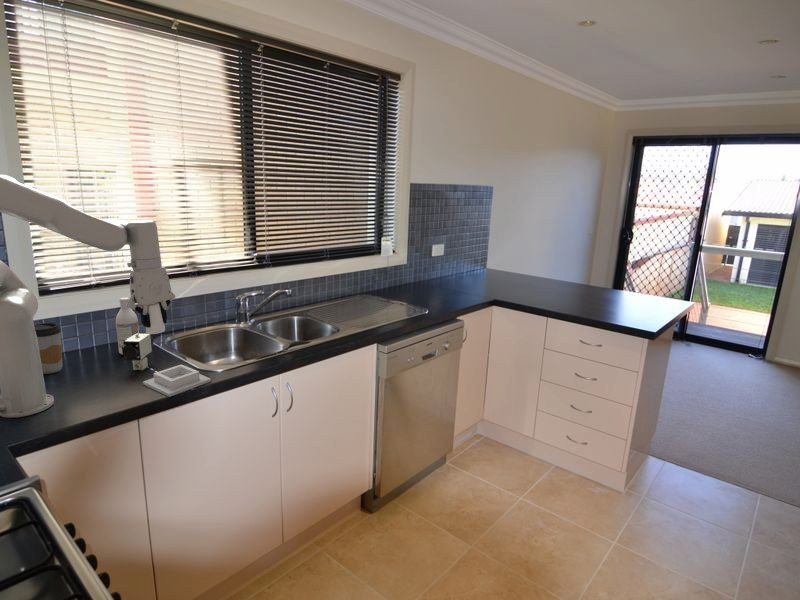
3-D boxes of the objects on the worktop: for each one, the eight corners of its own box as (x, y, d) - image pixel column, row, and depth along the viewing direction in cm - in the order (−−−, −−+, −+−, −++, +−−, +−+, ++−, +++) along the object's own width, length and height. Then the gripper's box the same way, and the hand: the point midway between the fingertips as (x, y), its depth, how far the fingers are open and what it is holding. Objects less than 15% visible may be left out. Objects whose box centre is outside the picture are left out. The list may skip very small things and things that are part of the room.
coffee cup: (58, 363, 164) (51, 320, 160) (71, 368, 160) (65, 325, 156) (30, 371, 157) (22, 326, 153) (43, 377, 153) (36, 331, 149)
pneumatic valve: (155, 361, 168) (152, 328, 165) (139, 375, 157) (135, 340, 154) (139, 361, 168) (136, 328, 165) (121, 375, 156) (117, 339, 153)
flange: (169, 396, 143) (168, 385, 142) (142, 384, 151) (141, 373, 150) (210, 381, 154) (210, 371, 153) (184, 370, 162) (183, 360, 161)
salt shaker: (168, 331, 145) (164, 295, 142) (149, 335, 141) (143, 298, 138) (162, 327, 149) (157, 292, 146) (143, 331, 145) (137, 295, 142)
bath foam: (142, 353, 175) (136, 299, 170) (120, 356, 171) (114, 301, 166) (139, 347, 181) (134, 295, 176) (118, 350, 177) (112, 297, 172)
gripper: (123, 270, 131) (133, 334, 136) (181, 260, 144) (188, 319, 149) (109, 266, 135) (119, 329, 140) (167, 258, 148) (174, 315, 153)
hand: (154, 323), depth 144 cm, fingers closed on salt shaker, 4 cm apart
